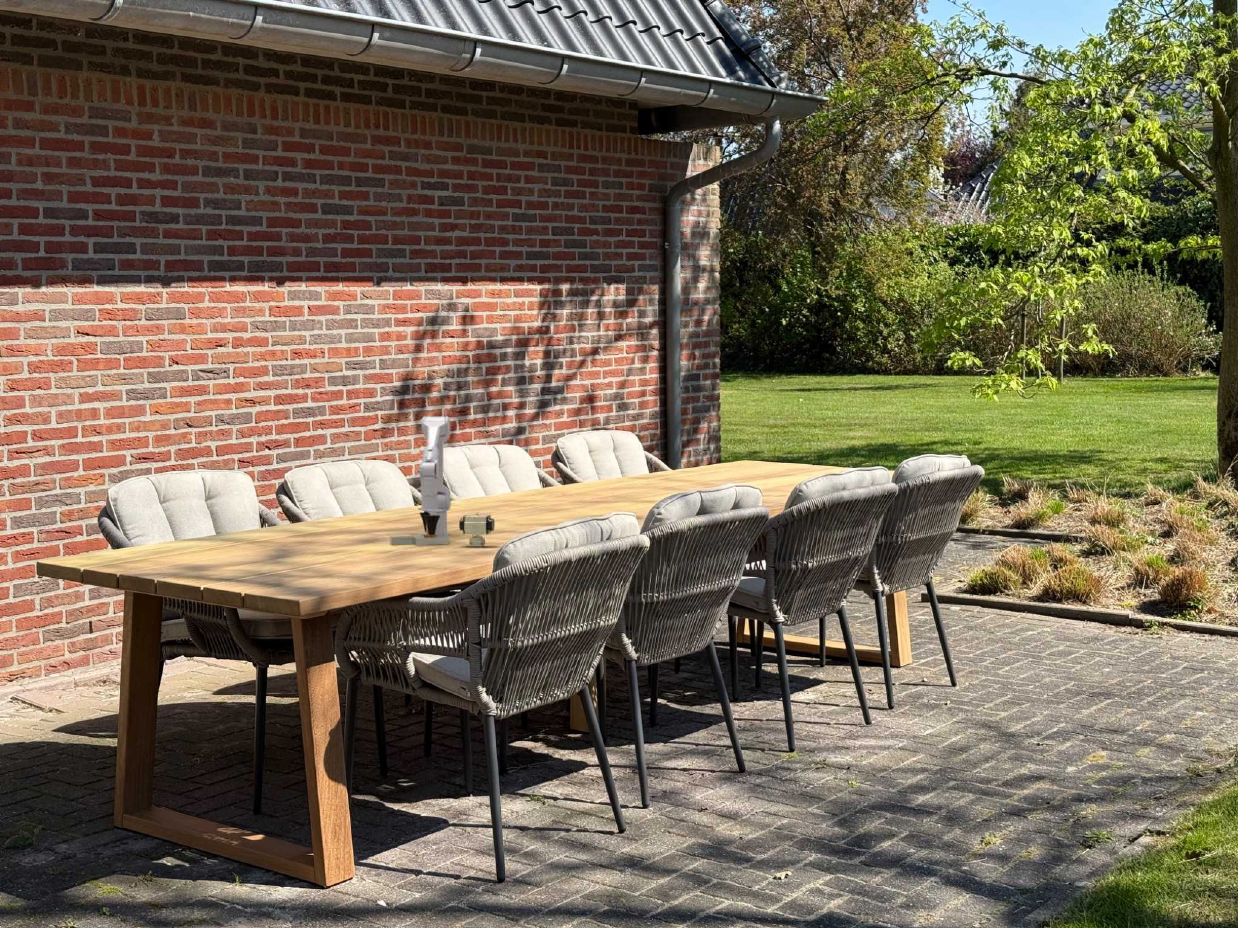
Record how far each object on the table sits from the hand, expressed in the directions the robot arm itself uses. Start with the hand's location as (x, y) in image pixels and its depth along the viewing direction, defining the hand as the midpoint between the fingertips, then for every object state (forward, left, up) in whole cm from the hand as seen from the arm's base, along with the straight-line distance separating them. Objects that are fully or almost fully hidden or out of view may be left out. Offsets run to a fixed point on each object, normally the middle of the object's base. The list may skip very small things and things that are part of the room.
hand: (429, 533), depth 533 cm
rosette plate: (0, -4, -3) cm, 5 cm away
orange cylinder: (0, 0, -3) cm, 3 cm away
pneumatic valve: (+15, +14, -4) cm, 21 cm away
